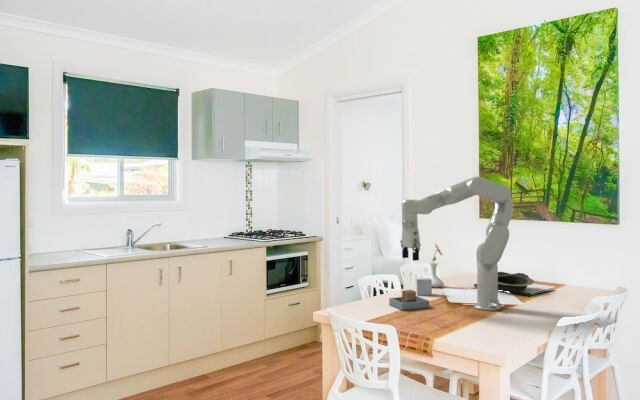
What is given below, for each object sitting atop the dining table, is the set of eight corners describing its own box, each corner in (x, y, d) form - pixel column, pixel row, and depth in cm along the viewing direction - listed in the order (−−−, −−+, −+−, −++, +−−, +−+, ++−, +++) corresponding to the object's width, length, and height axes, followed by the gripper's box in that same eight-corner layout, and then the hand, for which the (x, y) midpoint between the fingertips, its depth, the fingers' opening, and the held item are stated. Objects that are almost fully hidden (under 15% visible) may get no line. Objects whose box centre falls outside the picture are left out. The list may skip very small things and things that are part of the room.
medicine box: (430, 293, 291) (430, 278, 291) (431, 295, 287) (431, 279, 286) (416, 293, 292) (416, 278, 292) (417, 295, 287) (416, 279, 287)
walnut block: (416, 305, 262) (415, 291, 261) (407, 306, 260) (406, 292, 260) (410, 303, 266) (410, 289, 266) (402, 304, 265) (401, 290, 264)
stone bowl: (499, 284, 313) (501, 268, 312) (541, 293, 295) (542, 277, 294) (477, 289, 296) (478, 273, 295) (520, 300, 278) (521, 283, 277)
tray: (429, 307, 260) (429, 300, 260) (402, 310, 254) (402, 303, 254) (415, 302, 272) (415, 295, 272) (389, 305, 267) (389, 298, 266)
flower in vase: (439, 289, 302) (439, 245, 301) (420, 287, 308) (420, 244, 307) (447, 285, 313) (447, 243, 312) (429, 283, 319) (429, 242, 318)
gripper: (426, 225, 255) (426, 260, 256) (407, 223, 272) (408, 256, 272) (412, 226, 253) (413, 262, 253) (394, 223, 269) (395, 257, 270)
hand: (410, 259), depth 263 cm, fingers open, 9 cm apart
